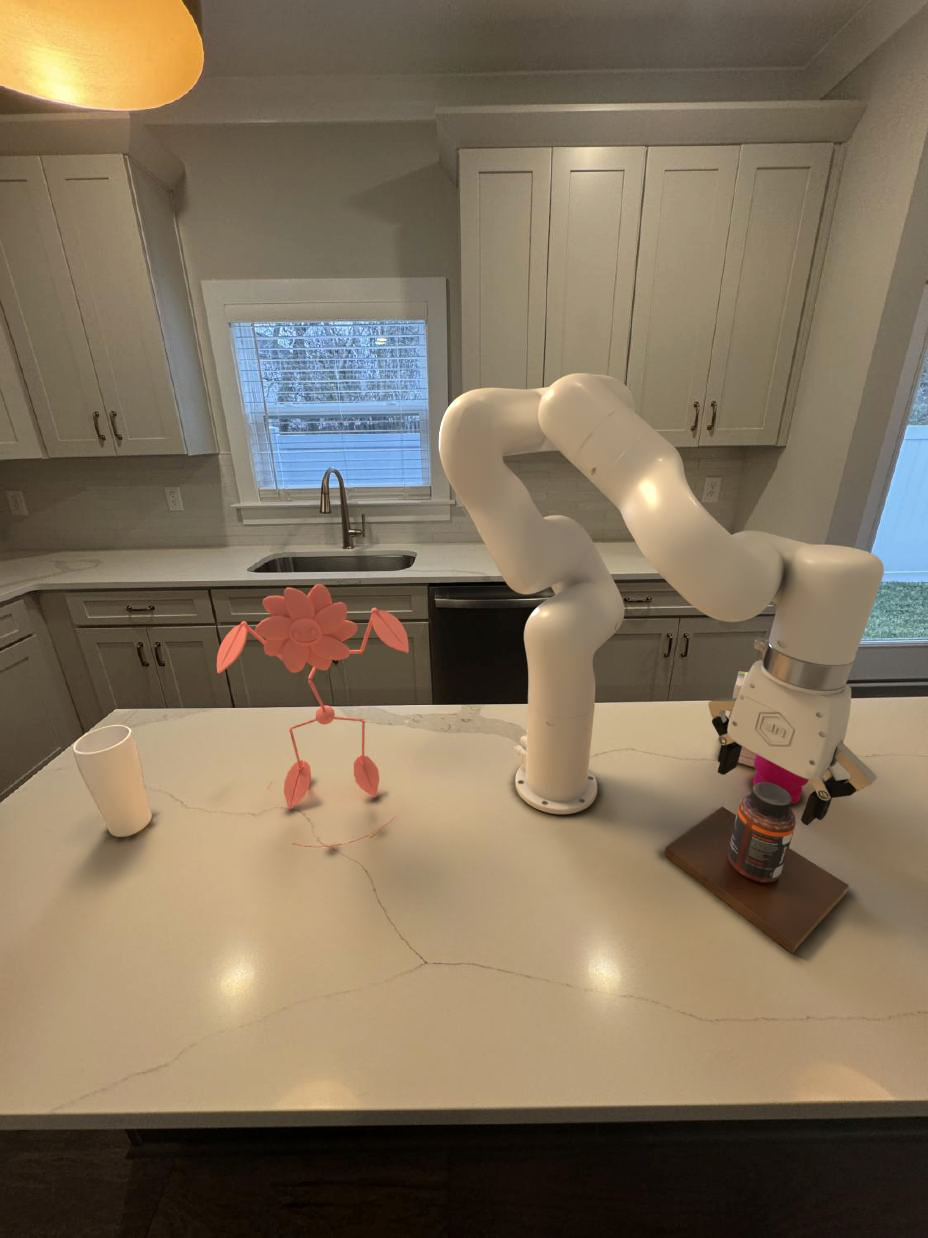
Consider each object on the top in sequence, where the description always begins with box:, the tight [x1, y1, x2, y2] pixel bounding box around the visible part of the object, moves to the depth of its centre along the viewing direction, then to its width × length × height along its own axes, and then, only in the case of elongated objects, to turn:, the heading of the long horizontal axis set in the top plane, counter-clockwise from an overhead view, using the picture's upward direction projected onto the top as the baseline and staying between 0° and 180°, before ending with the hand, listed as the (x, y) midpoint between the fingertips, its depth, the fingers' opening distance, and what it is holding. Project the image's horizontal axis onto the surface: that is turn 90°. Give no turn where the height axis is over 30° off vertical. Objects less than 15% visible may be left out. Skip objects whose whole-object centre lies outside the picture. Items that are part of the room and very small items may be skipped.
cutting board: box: [664, 806, 850, 954], centre depth 64 cm, size 16×13×2 cm
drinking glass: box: [72, 724, 153, 838], centre depth 71 cm, size 7×7×15 cm
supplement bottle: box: [728, 782, 797, 883], centre depth 61 cm, size 6×6×11 cm
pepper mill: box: [752, 755, 810, 805], centre depth 74 cm, size 7×7×20 cm
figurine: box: [216, 583, 410, 851], centre depth 69 cm, size 15×26×35 cm, turn 97°
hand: (765, 793), depth 60 cm, fingers open, 9 cm apart
